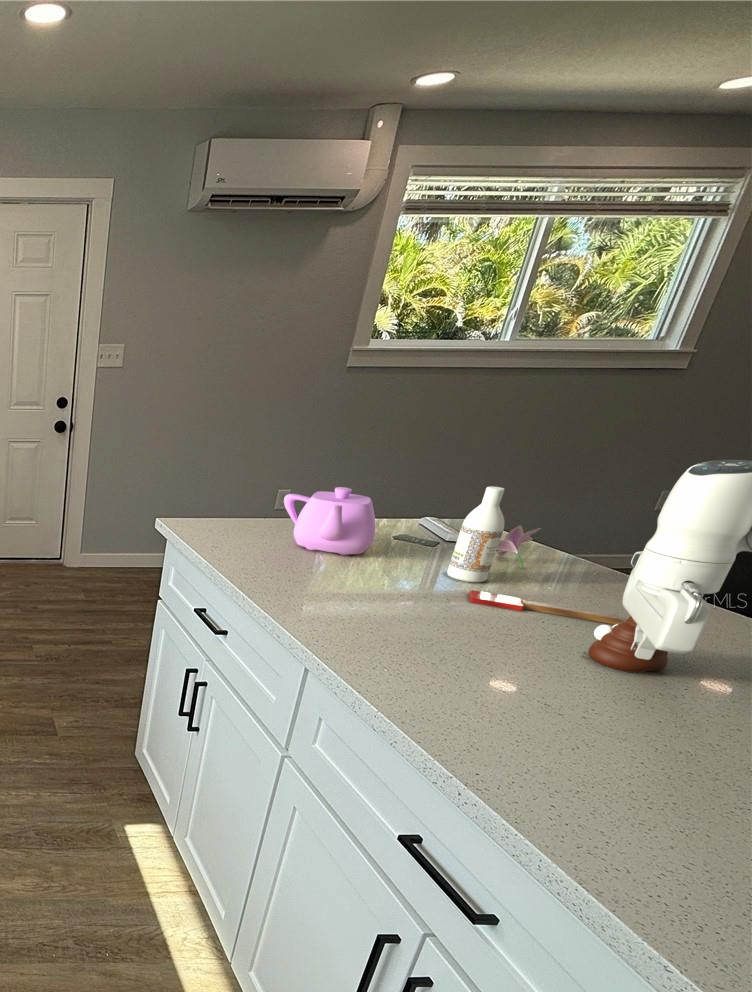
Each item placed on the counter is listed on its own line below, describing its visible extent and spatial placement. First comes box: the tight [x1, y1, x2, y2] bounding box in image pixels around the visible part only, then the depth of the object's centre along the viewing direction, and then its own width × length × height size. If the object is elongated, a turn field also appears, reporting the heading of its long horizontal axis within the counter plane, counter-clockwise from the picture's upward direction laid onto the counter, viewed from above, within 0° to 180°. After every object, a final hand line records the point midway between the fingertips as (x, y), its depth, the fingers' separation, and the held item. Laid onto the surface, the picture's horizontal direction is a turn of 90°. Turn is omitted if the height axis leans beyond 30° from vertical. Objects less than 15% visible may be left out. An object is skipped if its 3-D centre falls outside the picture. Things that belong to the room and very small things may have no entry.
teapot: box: [283, 486, 376, 556], centre depth 155 cm, size 23×21×15 cm
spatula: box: [468, 589, 622, 625], centre depth 123 cm, size 22×5×1 cm, turn 56°
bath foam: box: [446, 486, 505, 583], centre depth 135 cm, size 7×7×20 cm
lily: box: [496, 525, 542, 569], centre depth 146 cm, size 12×12×10 cm
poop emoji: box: [588, 615, 669, 673], centre depth 102 cm, size 10×8×9 cm
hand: (639, 655), depth 98 cm, fingers closed
